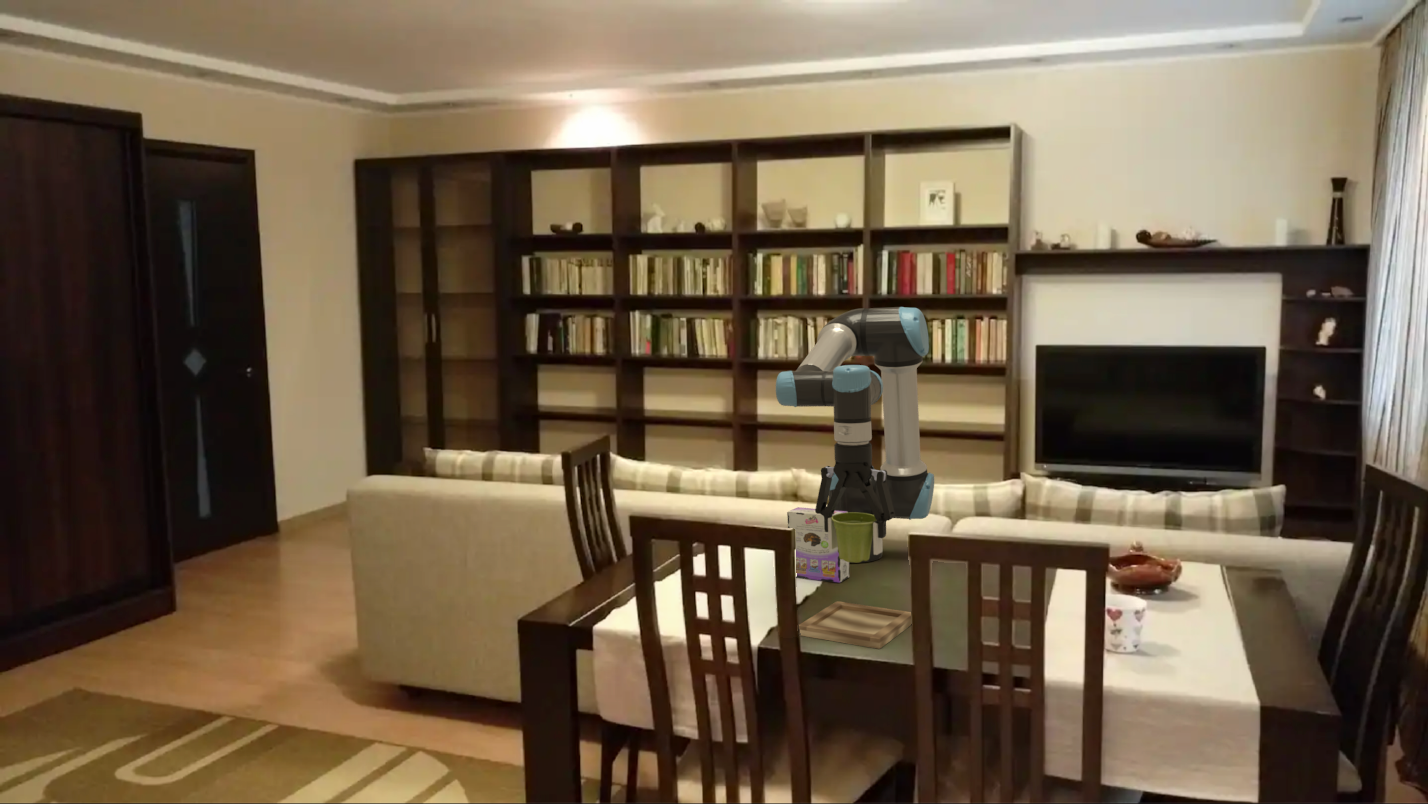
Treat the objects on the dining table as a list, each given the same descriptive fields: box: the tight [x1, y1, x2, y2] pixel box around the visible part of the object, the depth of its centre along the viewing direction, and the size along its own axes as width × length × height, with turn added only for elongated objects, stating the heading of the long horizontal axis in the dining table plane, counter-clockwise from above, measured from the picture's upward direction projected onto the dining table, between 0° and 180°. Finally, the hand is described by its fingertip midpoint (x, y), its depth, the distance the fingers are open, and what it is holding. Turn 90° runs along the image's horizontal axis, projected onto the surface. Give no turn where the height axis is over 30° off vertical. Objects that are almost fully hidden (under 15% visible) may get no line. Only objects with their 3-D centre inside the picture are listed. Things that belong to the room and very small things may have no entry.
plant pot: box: [831, 512, 877, 564], centre depth 216 cm, size 9×9×9 cm
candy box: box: [786, 506, 850, 584], centre depth 255 cm, size 14×6×16 cm, turn 58°
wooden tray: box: [798, 600, 911, 650], centre depth 218 cm, size 18×18×2 cm
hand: (855, 550), depth 216 cm, fingers closed on plant pot, 9 cm apart
